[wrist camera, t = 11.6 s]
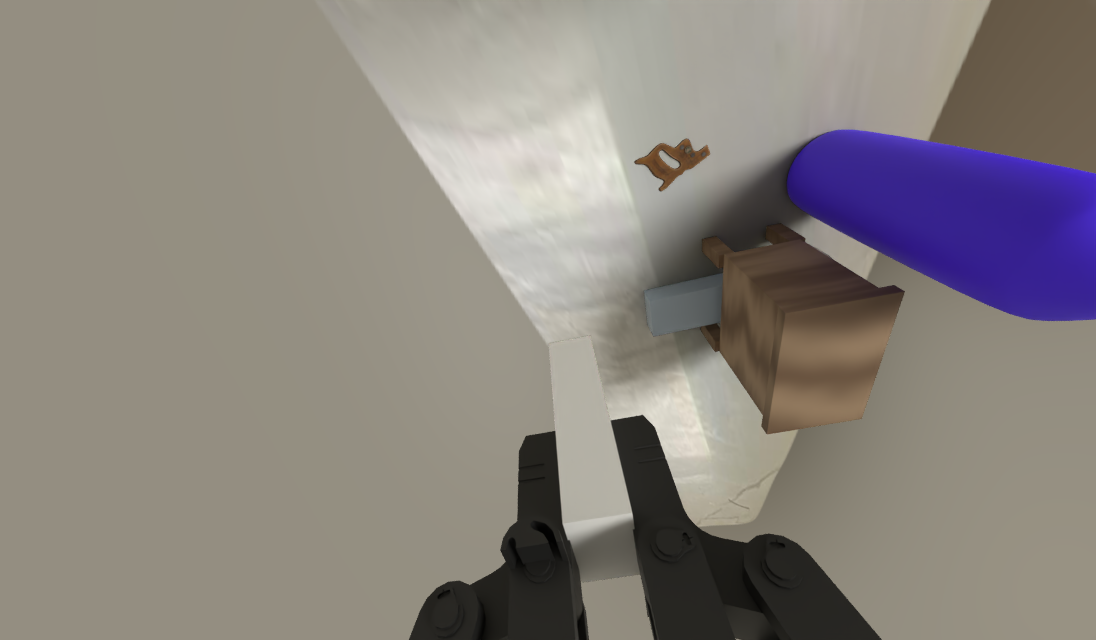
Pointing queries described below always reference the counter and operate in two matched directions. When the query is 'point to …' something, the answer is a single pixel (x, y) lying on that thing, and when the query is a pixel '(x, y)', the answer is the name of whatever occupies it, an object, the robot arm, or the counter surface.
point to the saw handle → (680, 153)
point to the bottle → (960, 217)
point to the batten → (684, 305)
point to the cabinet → (799, 330)
